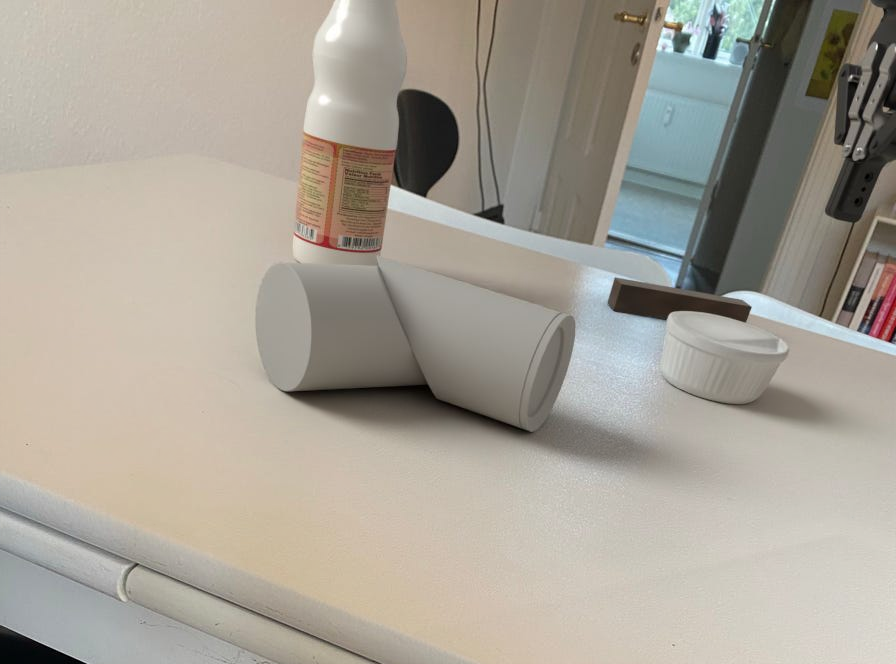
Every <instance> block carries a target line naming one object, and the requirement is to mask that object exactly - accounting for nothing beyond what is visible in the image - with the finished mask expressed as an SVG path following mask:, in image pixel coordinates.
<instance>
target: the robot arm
mask: <svg viewBox="0 0 896 664" xmlns="http://www.w3.org/2000/svg"><path fill="white" fill-rule="evenodd" d="M870 2H871V4H872V5H874V7H877V8H880V9H882V11H883V14H882V17H881V19H880V21H879V23H878V25H877V27H876V28H875V29H874V32H873V34H872V35H871V37H870V39H869V41H868V43H867V46H866V51H865V52H866V53H865V55H864V57H863V58H862V59H860V61H859V62H858V63H856V64H852V63H848V62H846V63H844V64H843V65H842V67H841V68H840V70H839V73H838V77H837V92H836V105H835V106H836V107H835V122H834V133H833V134H834V136H833V143H834V144H835V145H837V146H841V147H842V148H841V152H840V153H841V157H842V158H844V160H843V163H842V165H841V168H840V170H839V173H838V175H837V178H836V181H835V183H834V185H833V187H832V190H831V193H830V195H829V198H828V200H827V203H826V206H825V207H824V214H825V215H826V216H827V217H830V218H832V219H834V220H837V221H841V222H846V223H852V224H856V223H857V222H859V221H860V220H861V219H862V217H863V215H864V212H865V210H866V207H867V205H868V203H869V201H870V199H871V196H872V194H873V191H874V189H875V186H876V184H877V182H878V179H879V176H880V175H881V172H882V170H883V169H884V168H888V167H889V166H890V165H891V163H892V162H894V161H896V0H870ZM884 108H887V111H884Z"/></svg>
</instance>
